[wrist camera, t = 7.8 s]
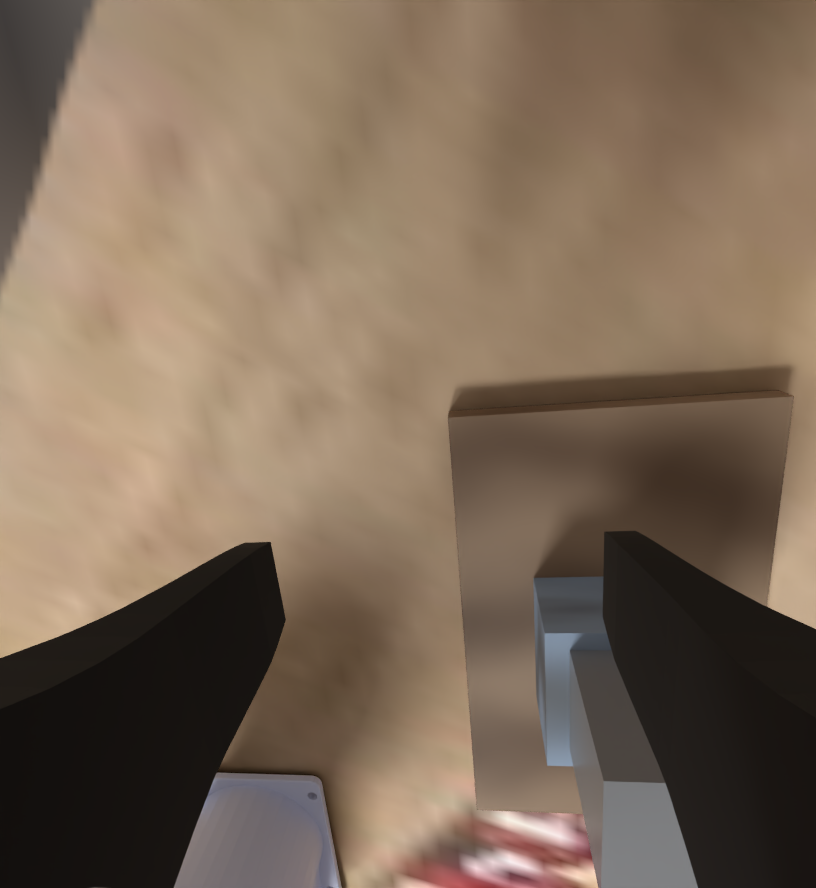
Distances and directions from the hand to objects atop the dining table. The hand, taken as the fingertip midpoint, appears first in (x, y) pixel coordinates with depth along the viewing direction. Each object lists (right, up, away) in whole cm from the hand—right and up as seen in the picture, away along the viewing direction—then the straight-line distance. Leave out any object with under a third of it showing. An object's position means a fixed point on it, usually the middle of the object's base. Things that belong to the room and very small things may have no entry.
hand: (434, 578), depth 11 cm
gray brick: (+7, -6, +7) cm, 12 cm away
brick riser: (+8, -5, +12) cm, 15 cm away
